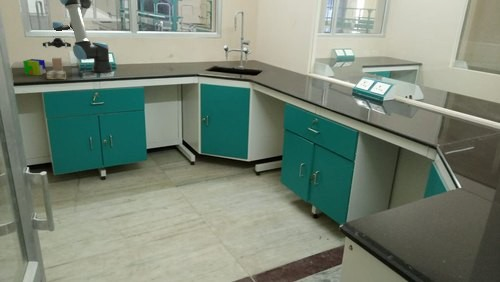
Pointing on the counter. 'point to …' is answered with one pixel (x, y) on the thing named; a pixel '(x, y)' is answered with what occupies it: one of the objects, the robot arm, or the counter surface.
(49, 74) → the pedestal
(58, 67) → the pillar block
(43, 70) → the puzzle toy
